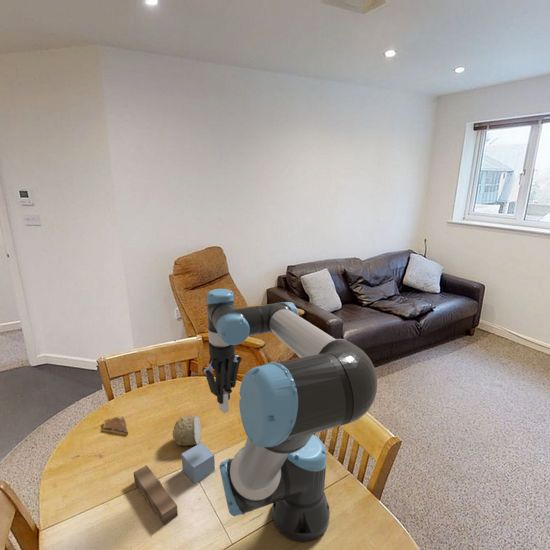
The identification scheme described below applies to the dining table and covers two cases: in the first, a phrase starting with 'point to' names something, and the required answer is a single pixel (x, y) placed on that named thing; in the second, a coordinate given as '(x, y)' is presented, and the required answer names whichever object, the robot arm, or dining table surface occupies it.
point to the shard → (116, 425)
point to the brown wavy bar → (155, 494)
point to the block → (198, 462)
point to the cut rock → (187, 430)
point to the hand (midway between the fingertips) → (224, 410)
